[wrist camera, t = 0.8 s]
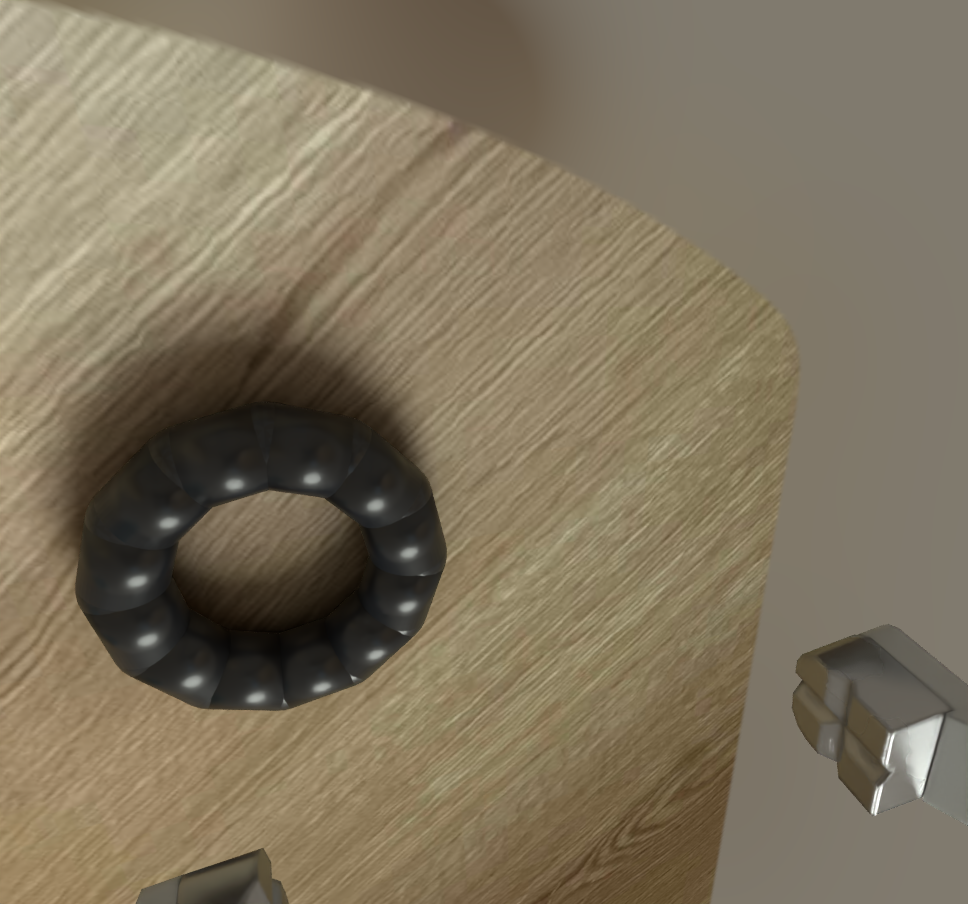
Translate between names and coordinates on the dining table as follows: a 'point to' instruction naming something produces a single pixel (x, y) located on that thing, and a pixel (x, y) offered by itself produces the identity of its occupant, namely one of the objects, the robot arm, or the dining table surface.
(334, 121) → the dining table surface
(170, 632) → the ring
